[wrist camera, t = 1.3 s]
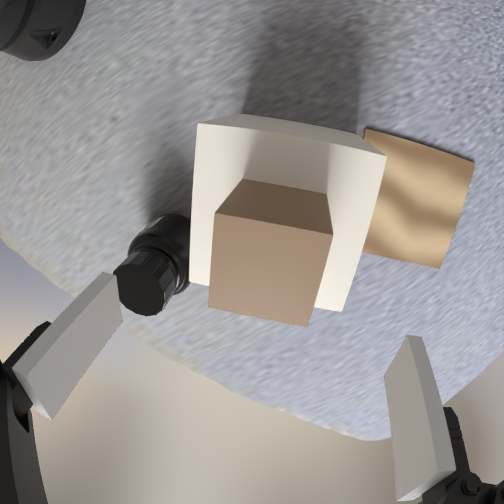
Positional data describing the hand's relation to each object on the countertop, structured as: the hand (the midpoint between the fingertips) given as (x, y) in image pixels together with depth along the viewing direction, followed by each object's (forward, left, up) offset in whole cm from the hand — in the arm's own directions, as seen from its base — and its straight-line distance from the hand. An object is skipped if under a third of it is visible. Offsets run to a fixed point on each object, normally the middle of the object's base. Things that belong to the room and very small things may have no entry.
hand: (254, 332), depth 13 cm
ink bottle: (+11, -14, -26) cm, 32 cm away
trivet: (0, +15, -26) cm, 30 cm away
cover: (0, 0, -26) cm, 26 cm away
